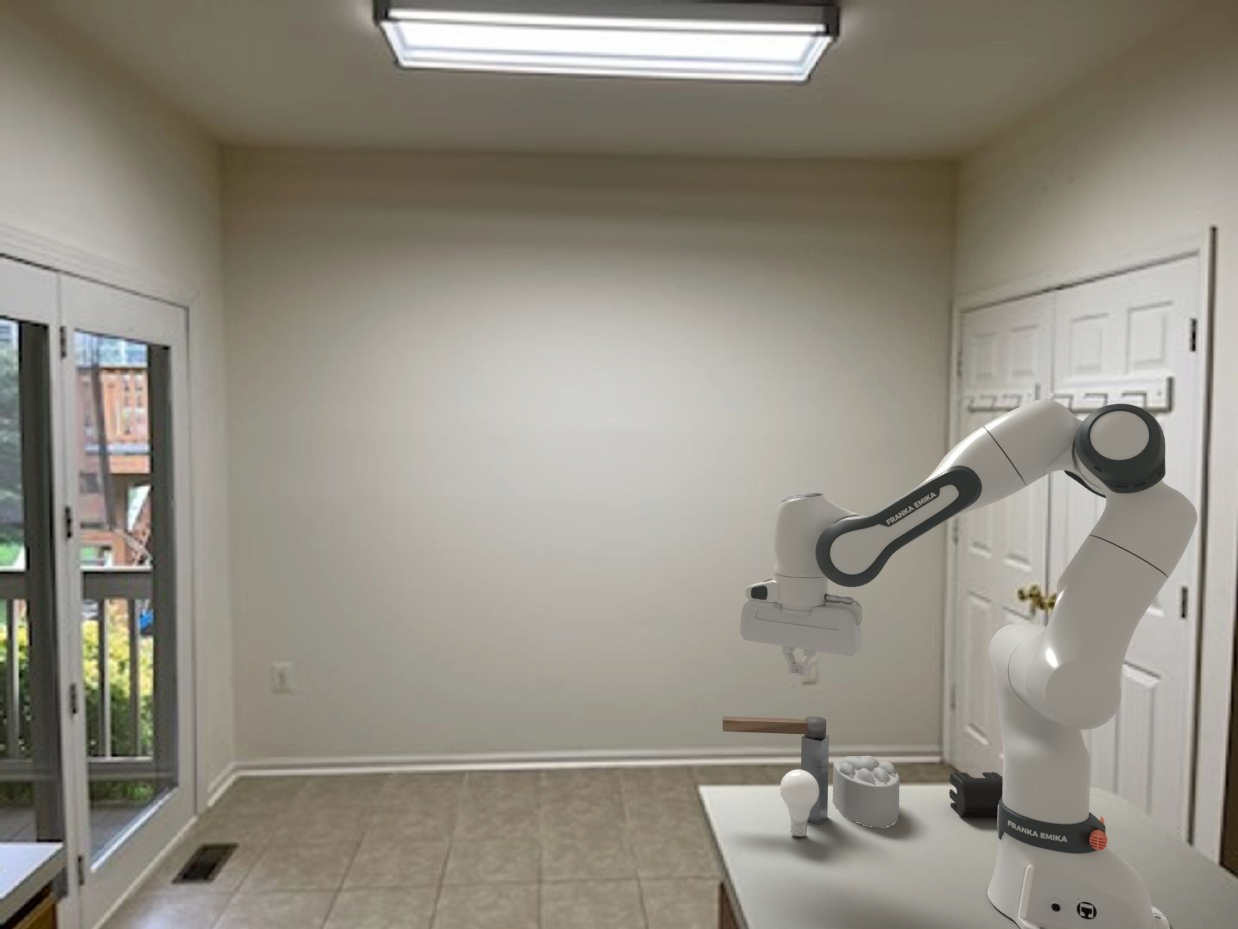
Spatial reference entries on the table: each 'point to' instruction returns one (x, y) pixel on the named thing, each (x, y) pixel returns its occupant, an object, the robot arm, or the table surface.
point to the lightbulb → (799, 798)
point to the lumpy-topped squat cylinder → (866, 790)
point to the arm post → (817, 772)
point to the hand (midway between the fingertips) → (798, 674)
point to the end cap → (976, 794)
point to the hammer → (777, 725)
